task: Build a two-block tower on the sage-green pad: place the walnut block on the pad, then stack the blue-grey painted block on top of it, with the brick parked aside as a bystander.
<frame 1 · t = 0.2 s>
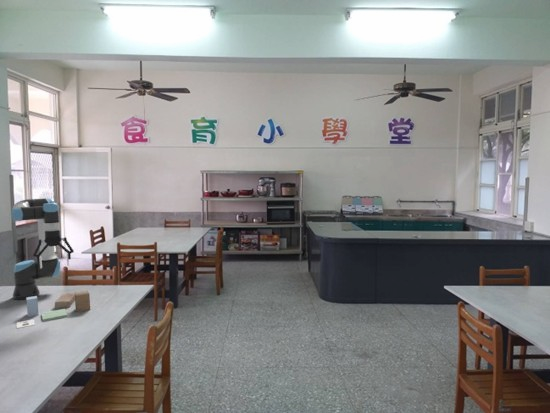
hand: (54, 266, 224), 27 cm above the table, fingers open, 13 cm apart
pad: (54, 315, 221), on the table
brick: (66, 304, 242), on the table
walnut block: (82, 309, 231), on the table
instruction page: (25, 323, 210), on the table
bluegrey block: (33, 314, 224), on the table
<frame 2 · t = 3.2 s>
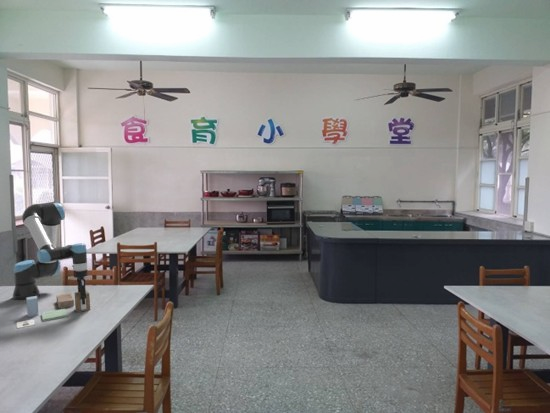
hand: (82, 307, 231), 1 cm above the table, fingers closed on walnut block, 7 cm apart
walnut block: (82, 309, 231), on the table, touching gripper
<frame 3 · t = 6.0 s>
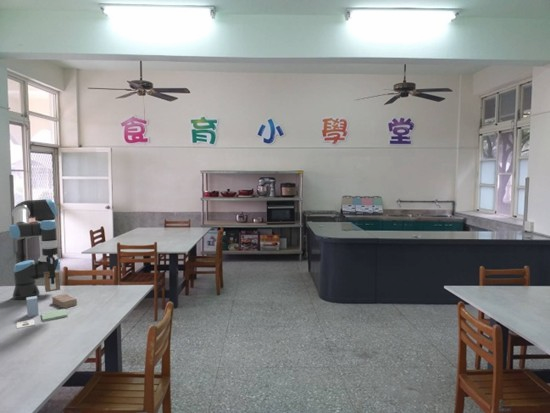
hand: (52, 287, 220), 17 cm above the table, fingers closed on walnut block, 7 cm apart
walnut block: (52, 289, 220), point 15 cm above the table, touching gripper
when the fingers open (4 cm above the table, at t = 9.2 s): walnut block drops 1 cm, resting on pad.
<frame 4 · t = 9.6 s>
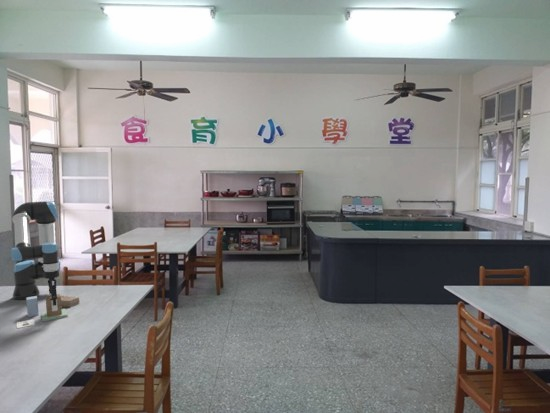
hand: (53, 307, 221), 5 cm above the table, fingers open, 12 cm apart
walnut block: (54, 313, 221), point 1 cm above the table, touching pad
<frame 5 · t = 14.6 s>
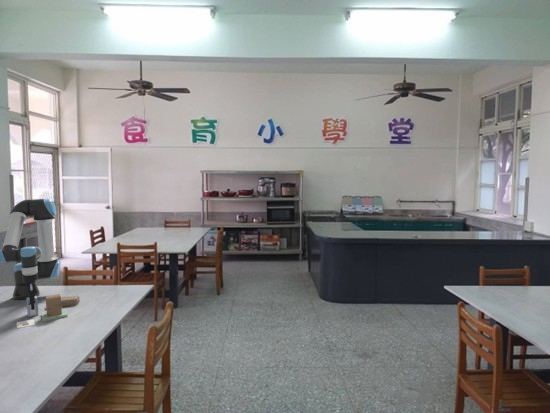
hand: (32, 313, 224), 1 cm above the table, fingers closed on bluegrey block, 5 cm apart
bluegrey block: (33, 314, 224), on the table, touching gripper
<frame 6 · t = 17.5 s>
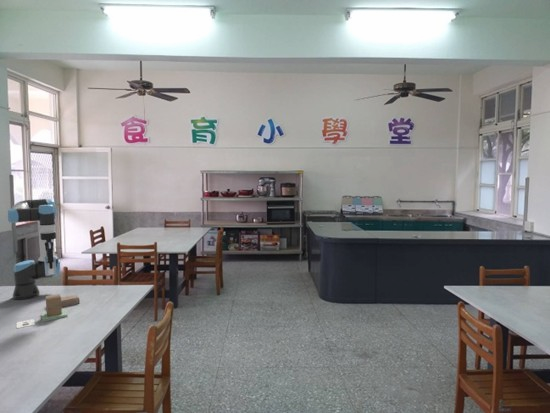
hand: (50, 272, 219), 25 cm above the table, fingers closed on bluegrey block, 5 cm apart
bluegrey block: (50, 274, 219), point 24 cm above the table, touching gripper
when the fingers open (13 cm above the table, at t = 20.5 s): bluegrey block drops 1 cm, resting on walnut block.
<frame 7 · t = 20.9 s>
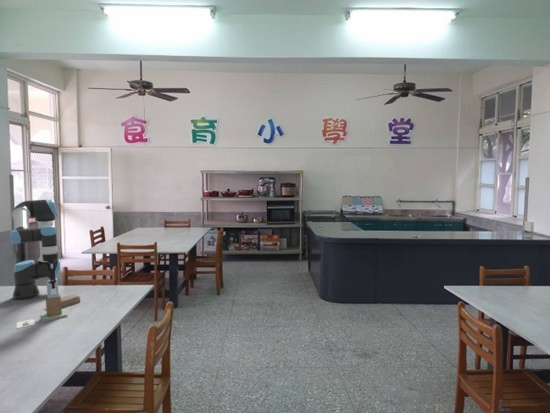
hand: (52, 291, 220), 14 cm above the table, fingers open, 10 cm apart
walnut block: (54, 313, 221), point 1 cm above the table, touching bluegrey block, pad
bluegrey block: (53, 296, 220), point 11 cm above the table, touching walnut block
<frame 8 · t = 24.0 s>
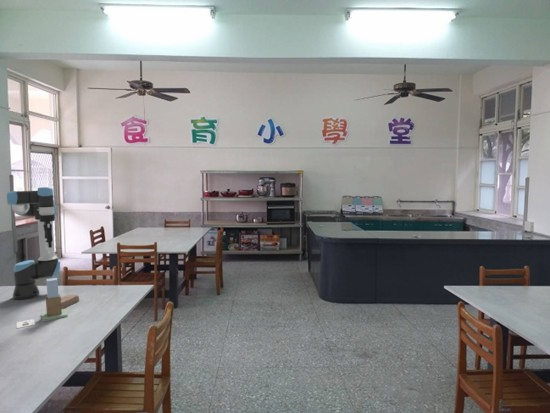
hand: (49, 251, 222), 37 cm above the table, fingers open, 13 cm apart
at the end: walnut block inside the target area on the pad (0.0 cm from its centre), point 1.2 cm above the pad's base; bluegrey block 0.0 cm from the walnut block (horizontally); bluegrey block point 11.2 cm above the table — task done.
